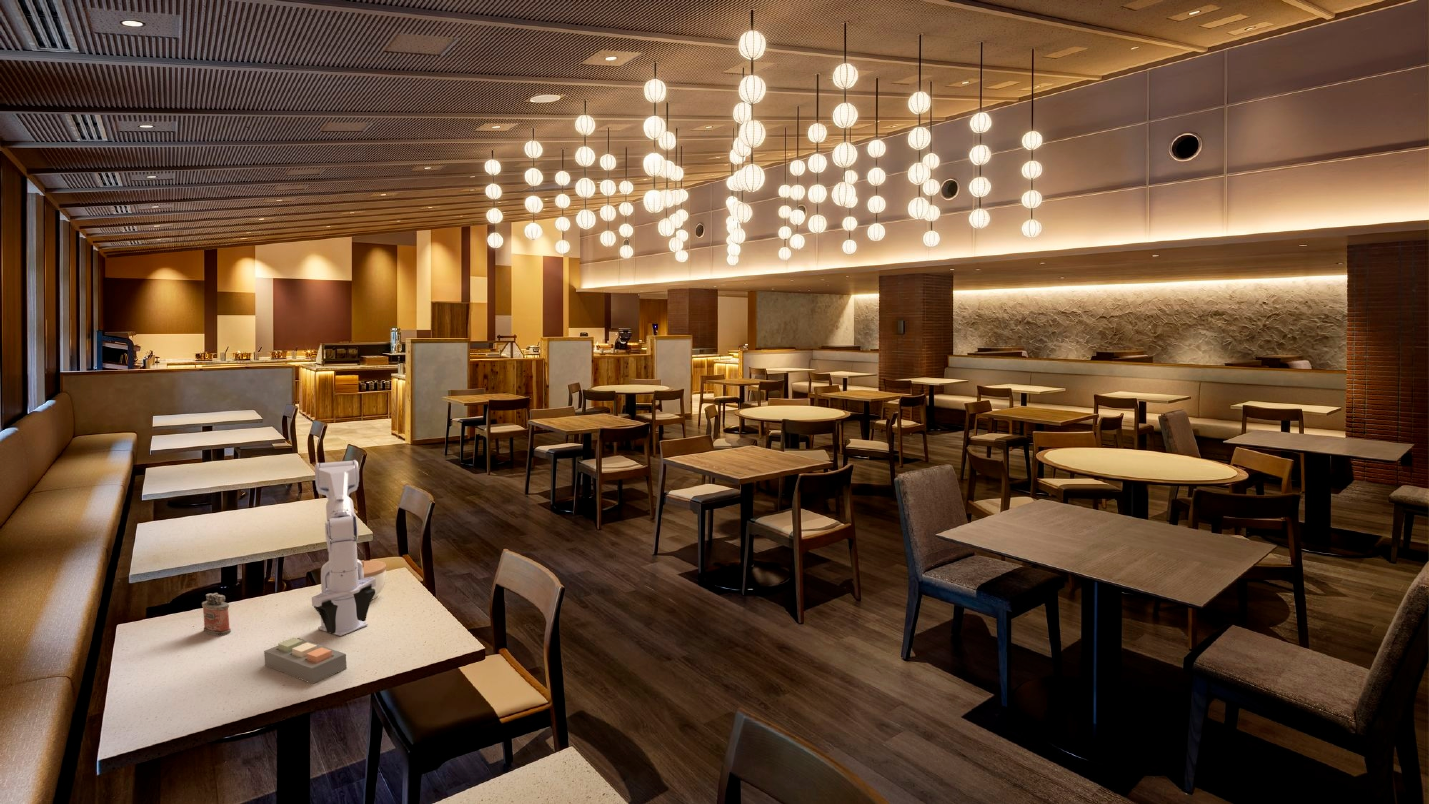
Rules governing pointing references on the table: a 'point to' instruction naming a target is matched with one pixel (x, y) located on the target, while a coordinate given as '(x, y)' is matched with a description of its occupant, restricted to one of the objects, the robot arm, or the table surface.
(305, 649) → the cream key
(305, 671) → the keypad
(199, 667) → the table surface
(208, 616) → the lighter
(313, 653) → the terracotta key
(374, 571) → the lidded bowl
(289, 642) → the sage key
